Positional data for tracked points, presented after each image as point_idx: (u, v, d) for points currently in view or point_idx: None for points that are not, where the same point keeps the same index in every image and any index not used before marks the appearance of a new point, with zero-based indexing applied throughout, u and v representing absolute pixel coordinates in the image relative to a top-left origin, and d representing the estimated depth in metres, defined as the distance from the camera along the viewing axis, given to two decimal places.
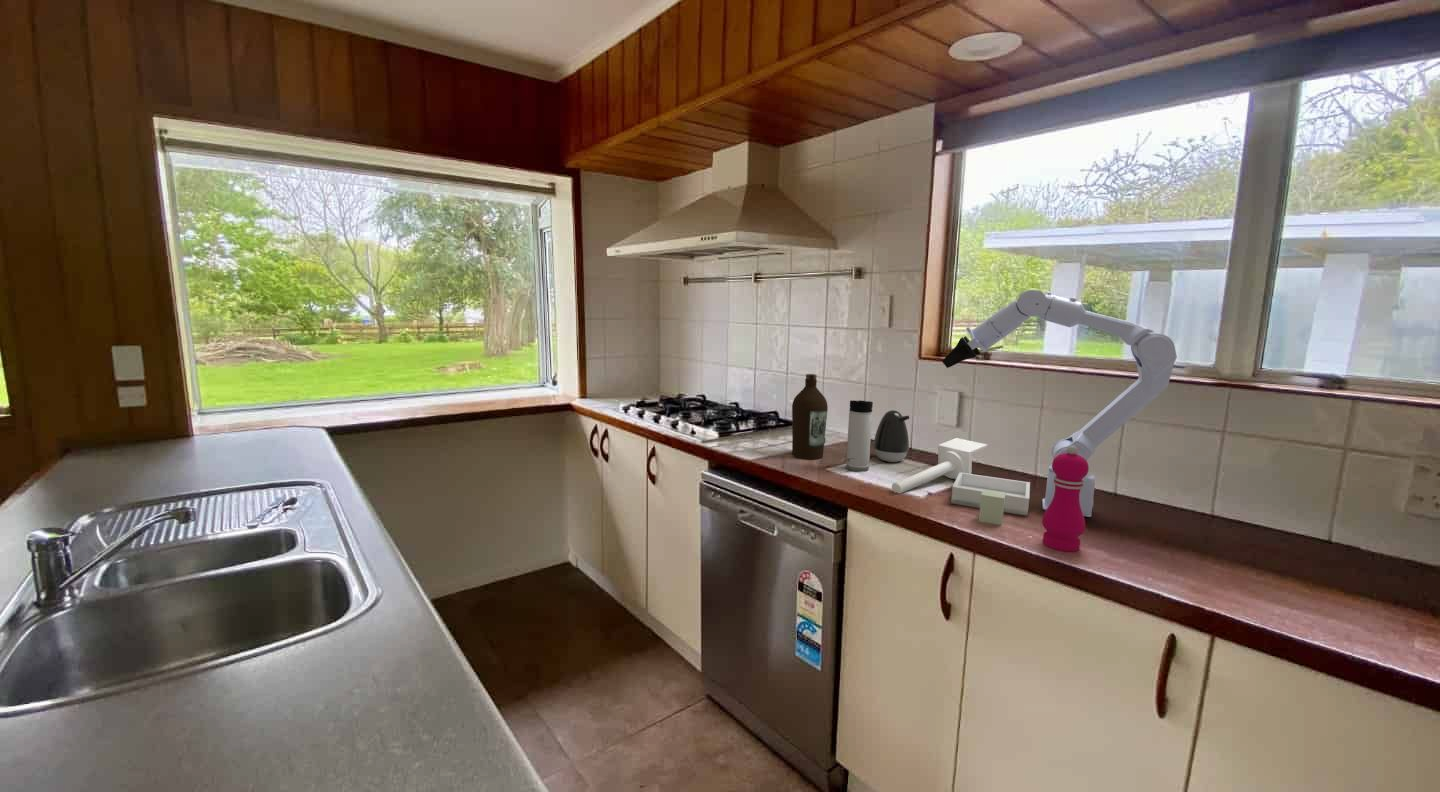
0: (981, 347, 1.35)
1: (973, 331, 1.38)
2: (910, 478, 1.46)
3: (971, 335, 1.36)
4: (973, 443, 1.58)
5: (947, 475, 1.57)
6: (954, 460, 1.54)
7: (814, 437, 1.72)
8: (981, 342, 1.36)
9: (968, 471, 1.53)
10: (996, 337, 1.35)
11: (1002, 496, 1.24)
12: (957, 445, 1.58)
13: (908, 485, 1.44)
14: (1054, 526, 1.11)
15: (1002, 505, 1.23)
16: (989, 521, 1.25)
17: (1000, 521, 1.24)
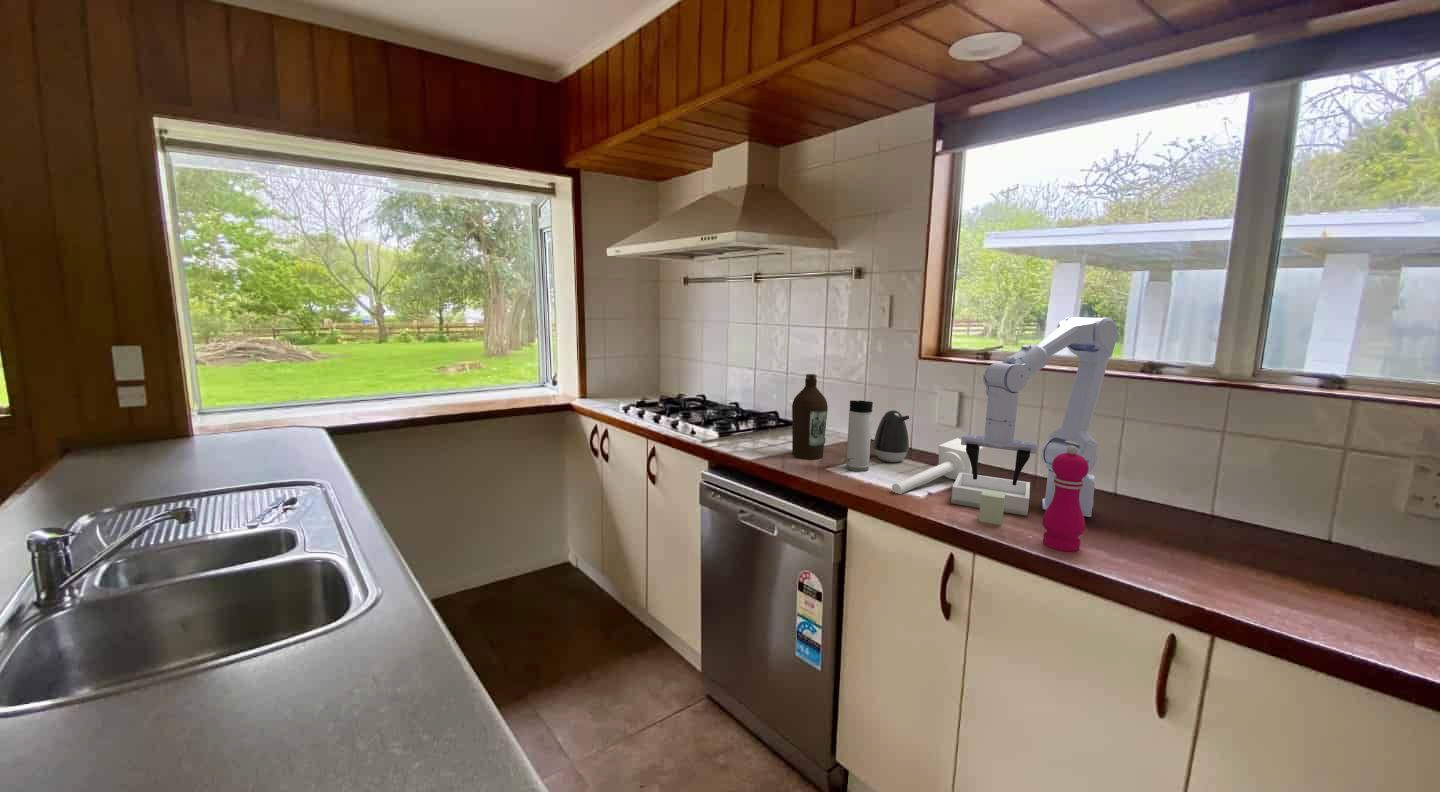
0: None
1: (1005, 441, 1.21)
2: (910, 479, 1.45)
3: (1017, 445, 1.21)
4: None
5: (947, 475, 1.57)
6: (954, 461, 1.54)
7: (814, 437, 1.72)
8: None
9: (968, 472, 1.53)
10: None
11: (1002, 496, 1.24)
12: (957, 446, 1.57)
13: (908, 486, 1.44)
14: (1054, 526, 1.11)
15: (1002, 505, 1.23)
16: (989, 521, 1.25)
17: (1000, 521, 1.24)
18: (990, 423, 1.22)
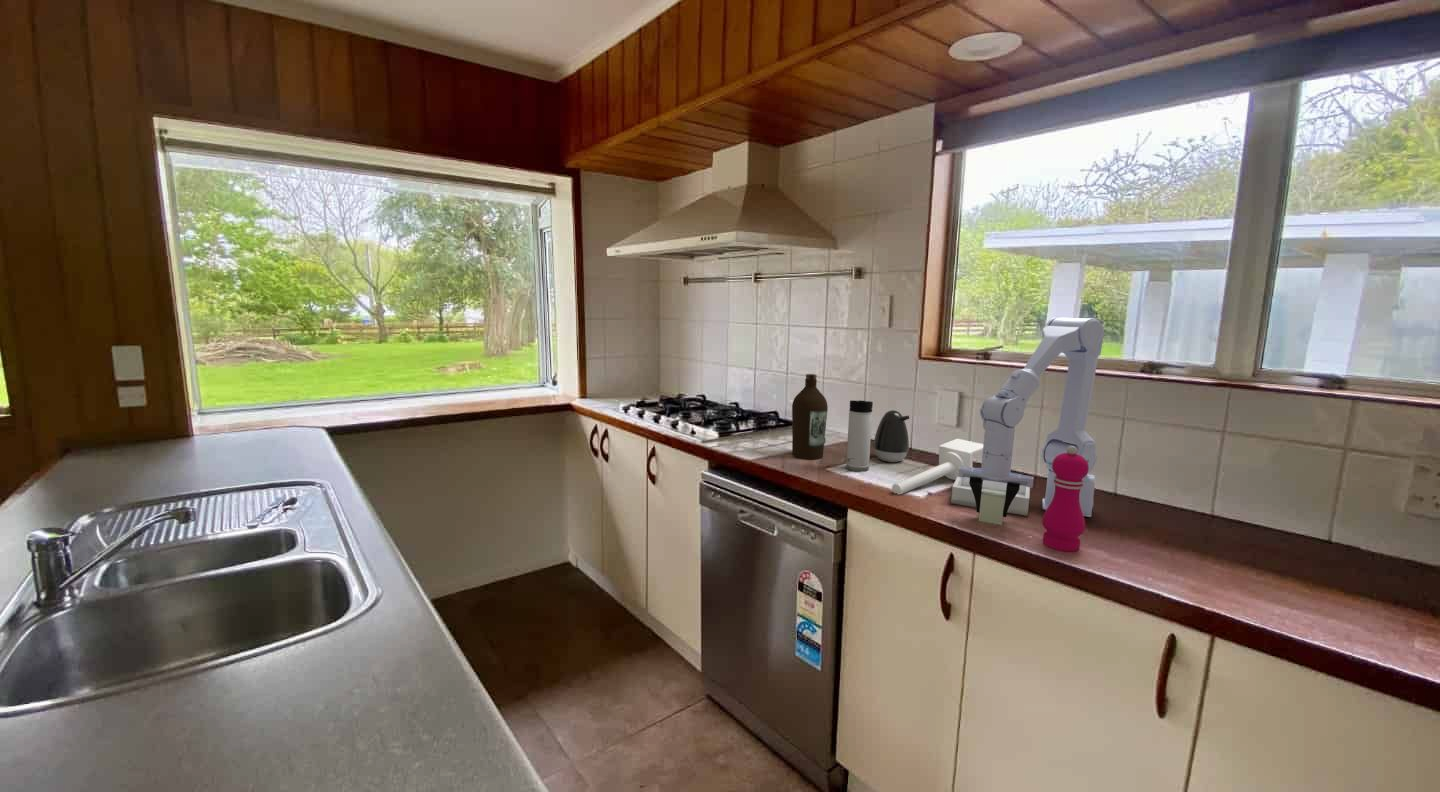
0: None
1: (1002, 475, 1.22)
2: (910, 479, 1.45)
3: (1014, 479, 1.22)
4: (974, 444, 1.57)
5: (948, 476, 1.56)
6: (954, 461, 1.54)
7: (814, 437, 1.72)
8: None
9: None
10: None
11: (1002, 496, 1.24)
12: (958, 446, 1.57)
13: (908, 486, 1.43)
14: (1054, 526, 1.11)
15: (1002, 505, 1.23)
16: (989, 521, 1.25)
17: (1000, 521, 1.24)
18: (987, 457, 1.23)
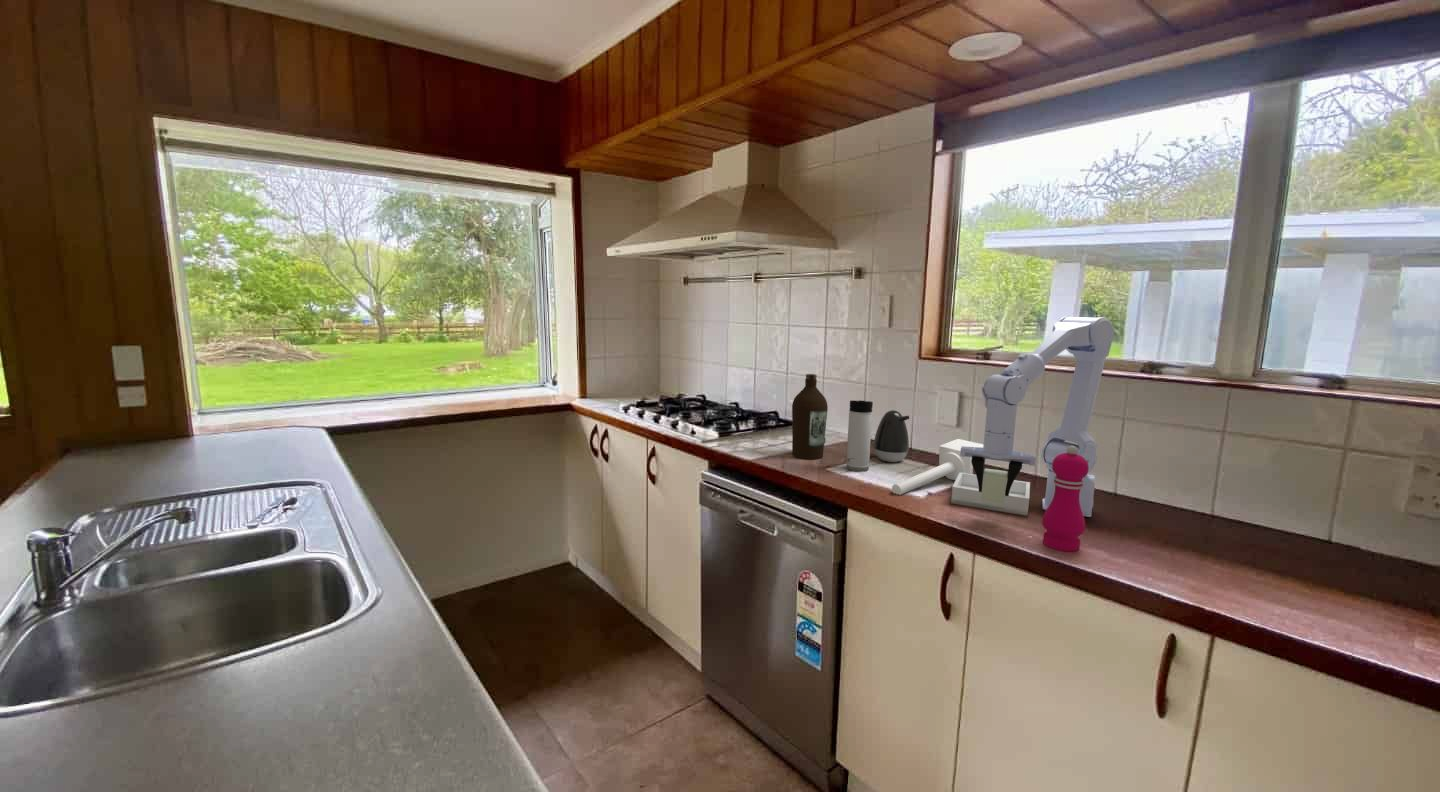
0: None
1: (1004, 453, 1.22)
2: (910, 479, 1.45)
3: (1016, 457, 1.21)
4: (974, 444, 1.57)
5: (948, 476, 1.56)
6: (955, 461, 1.53)
7: (814, 437, 1.72)
8: None
9: (969, 472, 1.52)
10: None
11: (1005, 474, 1.23)
12: (958, 446, 1.56)
13: (908, 487, 1.43)
14: (1054, 526, 1.11)
15: (1004, 483, 1.22)
16: (991, 500, 1.24)
17: (1002, 500, 1.23)
18: (989, 435, 1.23)
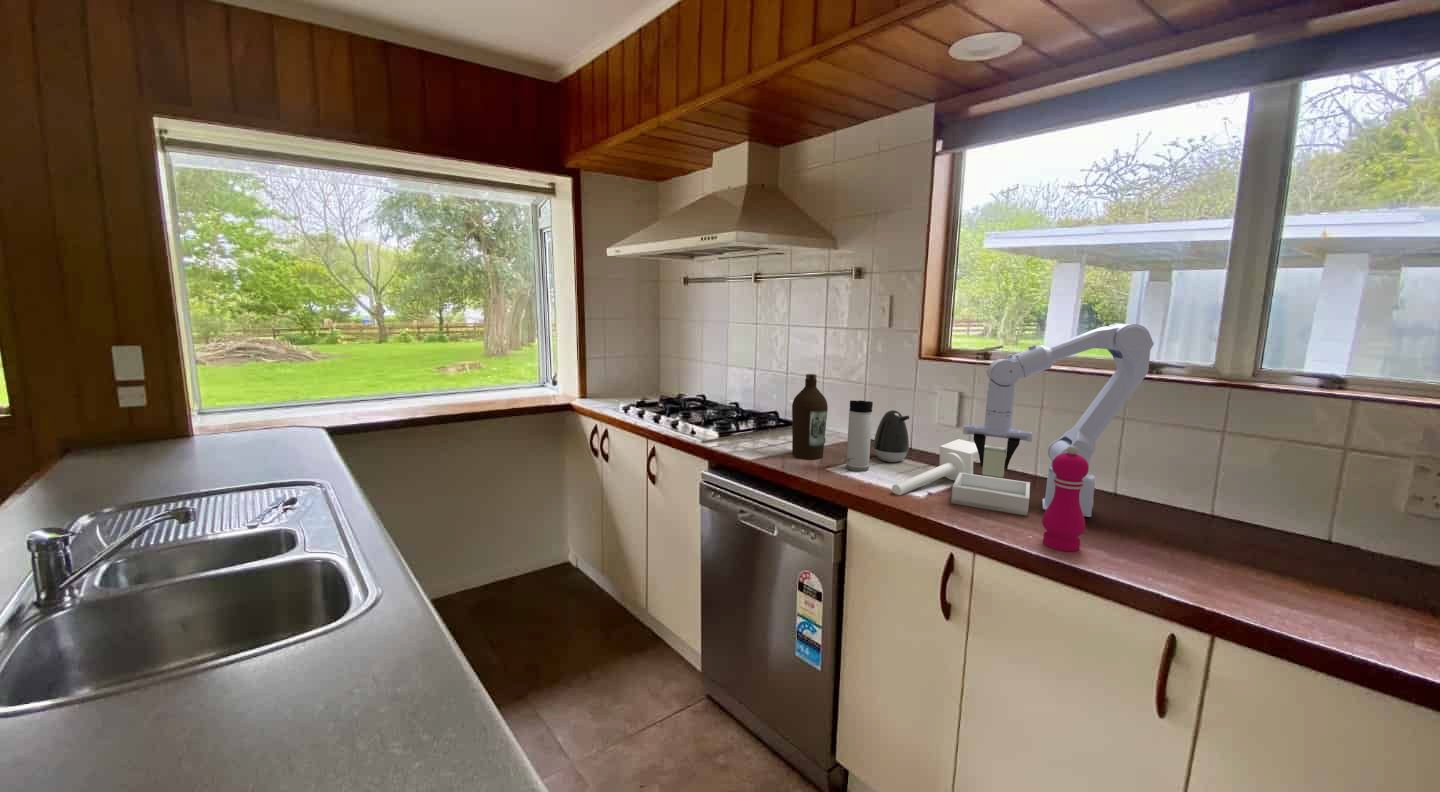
0: None
1: (1004, 430, 1.33)
2: (911, 480, 1.45)
3: (1014, 434, 1.33)
4: (975, 444, 1.57)
5: (948, 477, 1.56)
6: (955, 462, 1.53)
7: (814, 437, 1.72)
8: None
9: (970, 473, 1.52)
10: None
11: (1004, 450, 1.35)
12: (958, 447, 1.56)
13: (908, 487, 1.43)
14: (1054, 526, 1.11)
15: (1003, 459, 1.34)
16: (992, 474, 1.36)
17: (1002, 473, 1.35)
18: (990, 414, 1.35)
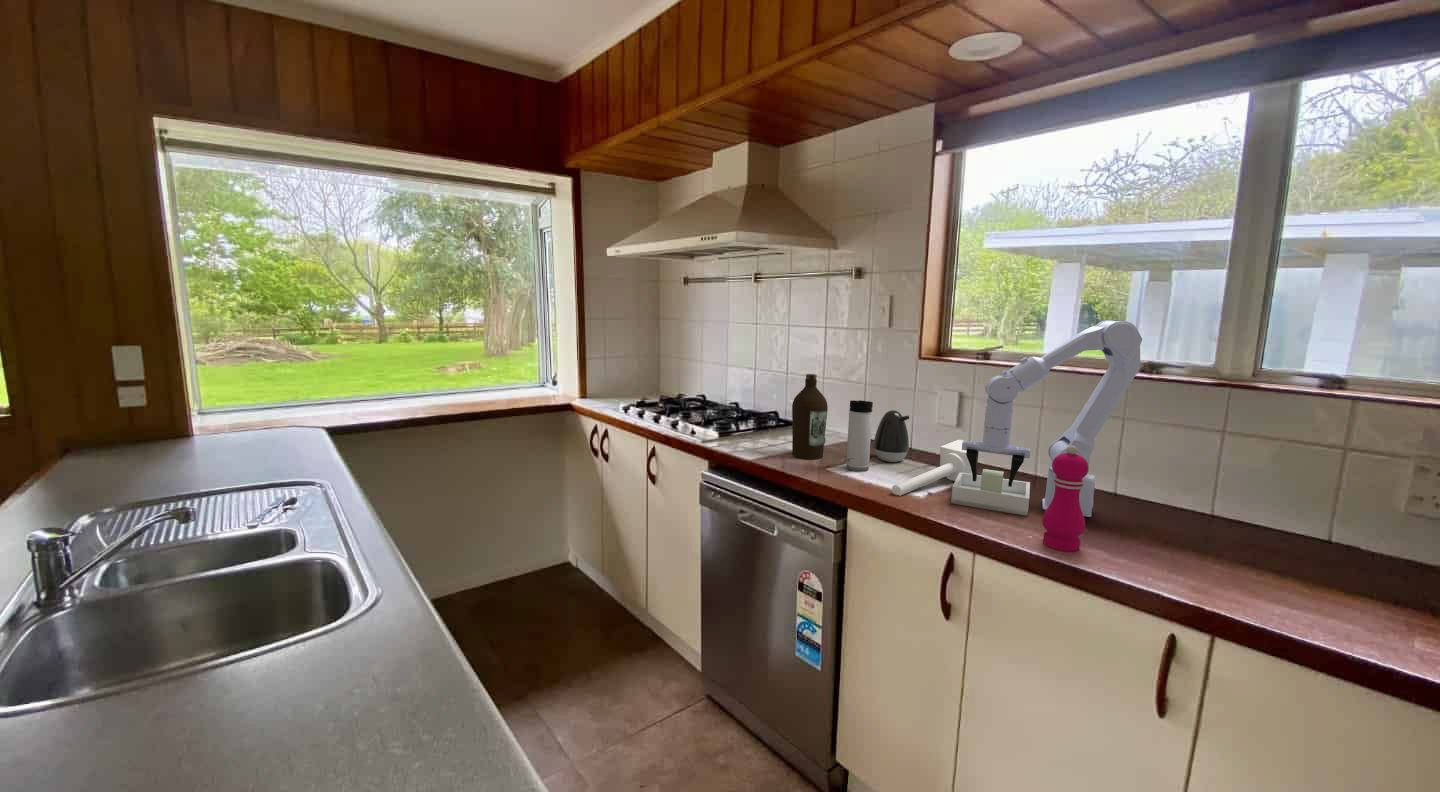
0: None
1: (1002, 447, 1.34)
2: (911, 480, 1.44)
3: (1013, 450, 1.34)
4: None
5: (949, 477, 1.55)
6: (956, 462, 1.53)
7: (814, 437, 1.72)
8: None
9: (970, 473, 1.51)
10: None
11: (1001, 474, 1.36)
12: (959, 447, 1.56)
13: (908, 488, 1.42)
14: (1054, 526, 1.11)
15: (1001, 483, 1.35)
16: None
17: None
18: (988, 430, 1.36)
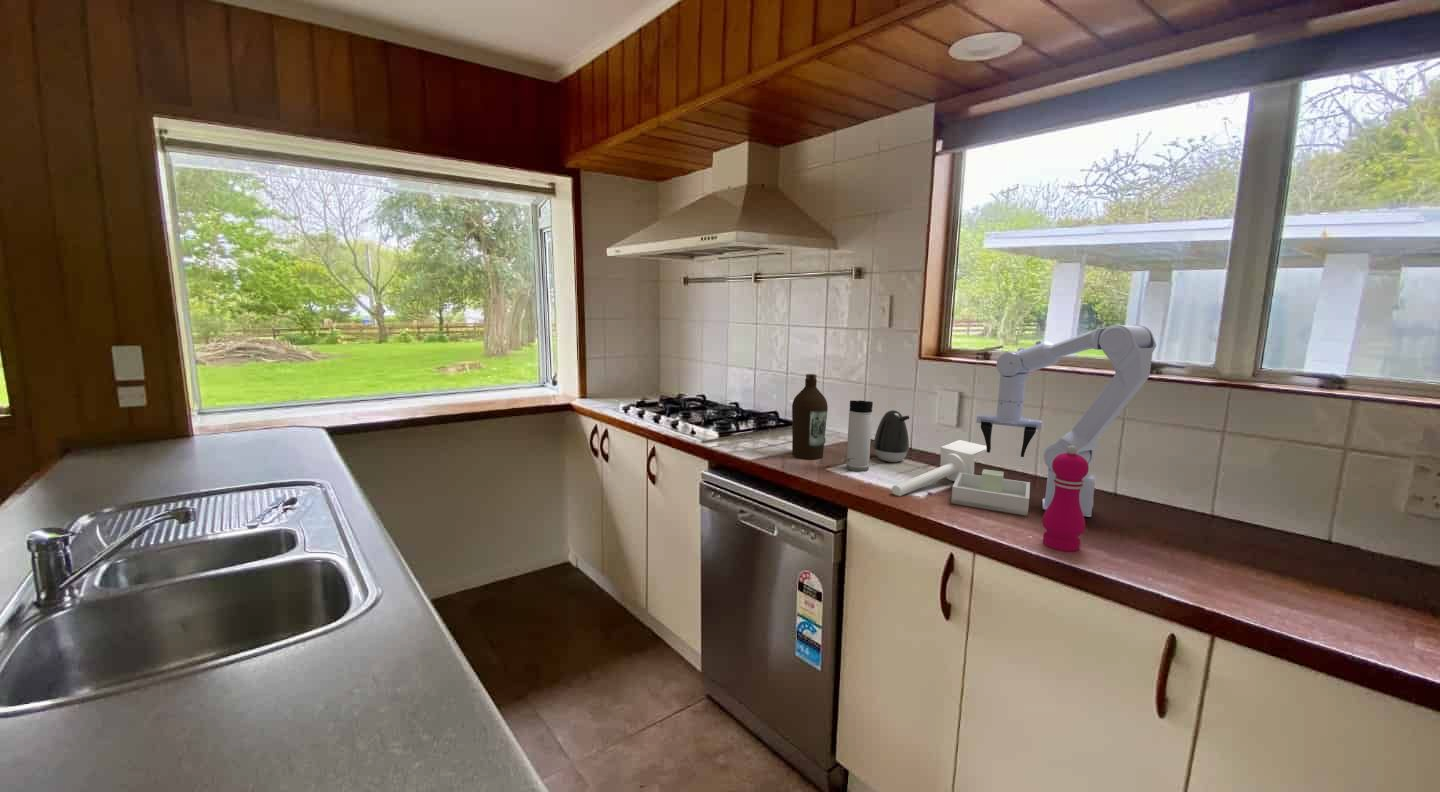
0: None
1: (1015, 419, 1.42)
2: (911, 480, 1.44)
3: (1025, 422, 1.42)
4: (976, 445, 1.56)
5: (949, 478, 1.55)
6: (956, 462, 1.52)
7: (814, 437, 1.72)
8: None
9: None
10: None
11: (1001, 474, 1.36)
12: (959, 447, 1.55)
13: (908, 488, 1.42)
14: (1054, 526, 1.11)
15: (1001, 483, 1.35)
16: None
17: None
18: (1001, 404, 1.43)
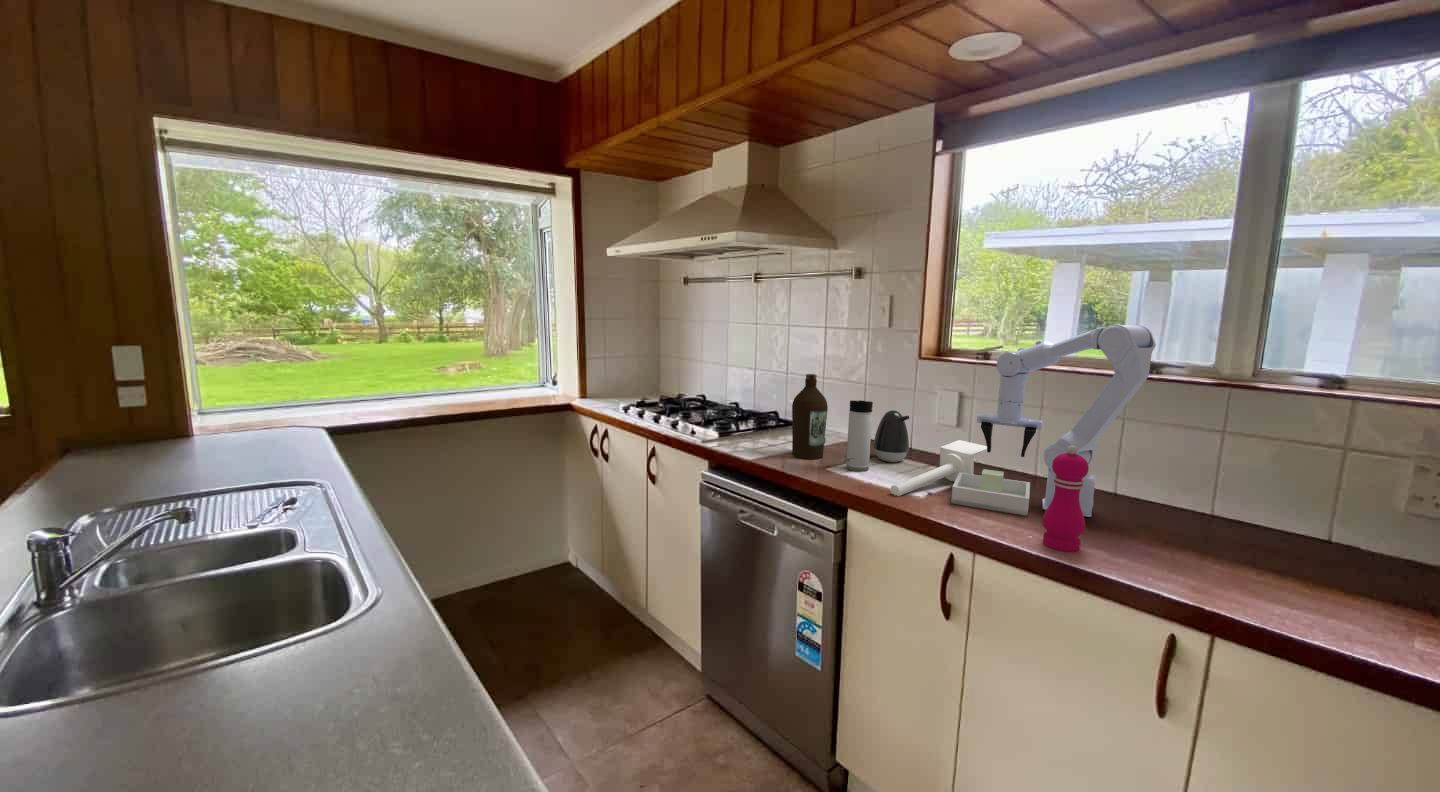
0: None
1: (1015, 419, 1.42)
2: (910, 480, 1.44)
3: (1025, 422, 1.42)
4: (976, 445, 1.56)
5: (949, 478, 1.55)
6: (955, 463, 1.52)
7: (814, 437, 1.72)
8: None
9: None
10: None
11: (1001, 474, 1.36)
12: (959, 448, 1.55)
13: (907, 488, 1.42)
14: (1054, 526, 1.11)
15: (1001, 483, 1.35)
16: None
17: None
18: (1002, 404, 1.44)
